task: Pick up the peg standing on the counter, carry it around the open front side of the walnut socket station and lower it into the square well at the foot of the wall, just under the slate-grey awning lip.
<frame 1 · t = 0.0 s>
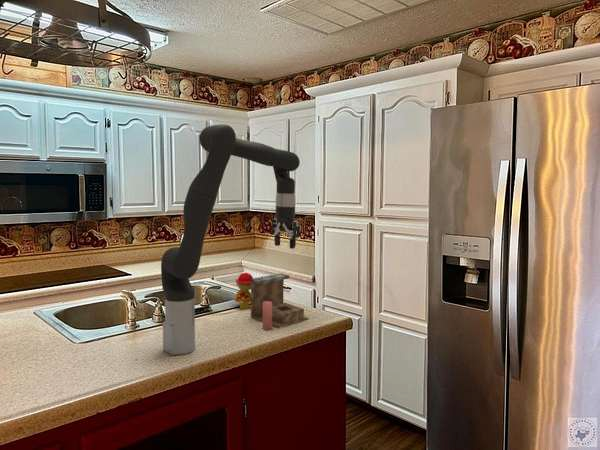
hand: (284, 246, 172), 29 cm above the worktop, fingers open, 8 cm apart
peg: (267, 328, 165), on the worktop
toy: (245, 307, 192), on the worktop
socket station: (283, 320, 175), on the worktop
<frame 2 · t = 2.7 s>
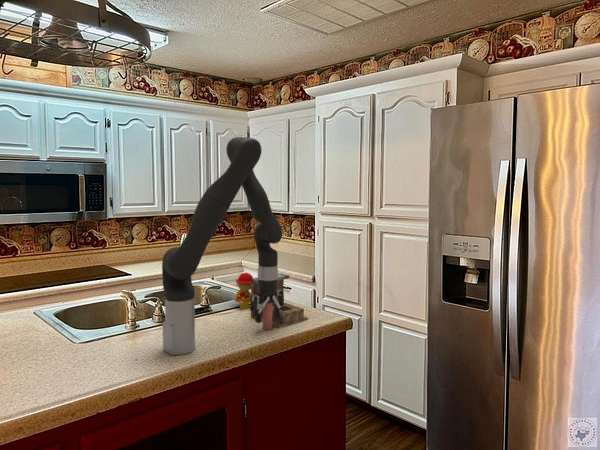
hand: (267, 320, 165), 3 cm above the worktop, fingers open, 8 cm apart
nothing on the worktop moved.
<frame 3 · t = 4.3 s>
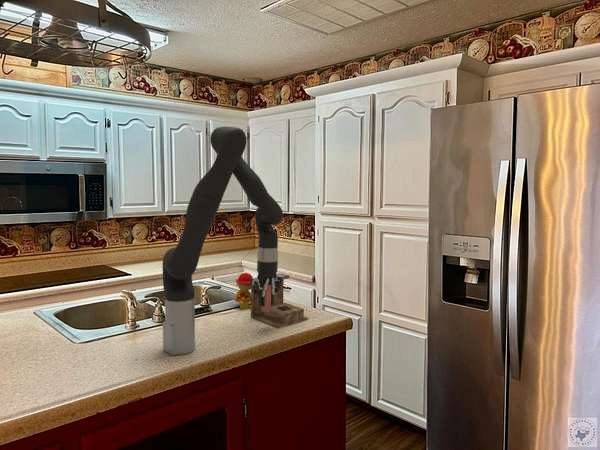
hand: (266, 304, 164), 9 cm above the worktop, fingers closed on peg, 3 cm apart
peg: (265, 310, 165), point 7 cm above the worktop, touching gripper
everything else where it was.
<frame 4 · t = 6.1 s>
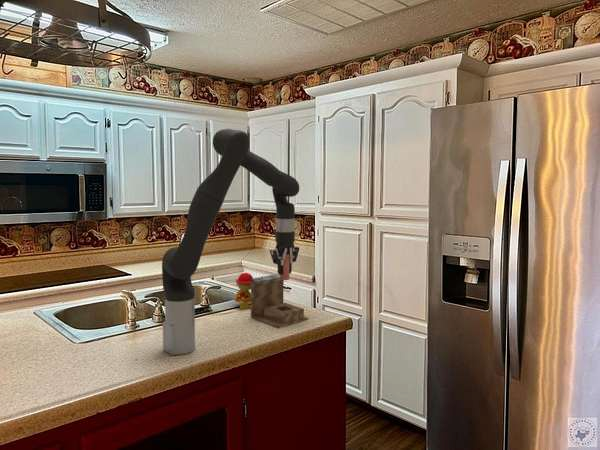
hand: (284, 273, 173), 19 cm above the worktop, fingers closed on peg, 3 cm apart
peg: (284, 279, 173), point 17 cm above the worktop, touching gripper
everything else where it was.
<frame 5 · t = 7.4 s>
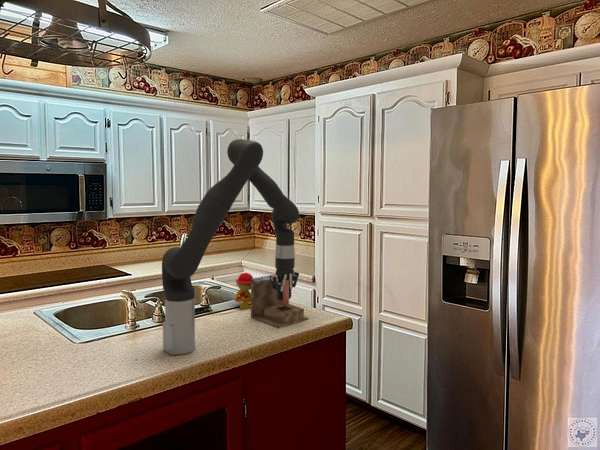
hand: (284, 299, 174), 9 cm above the worktop, fingers closed on peg, 3 cm apart
peg: (284, 304, 174), point 6 cm above the worktop, touching gripper
everything else where it was.
when the fingers open (6 cm above the worktop, at t = 8.6 s): peg drops 3 cm, resting on socket station.
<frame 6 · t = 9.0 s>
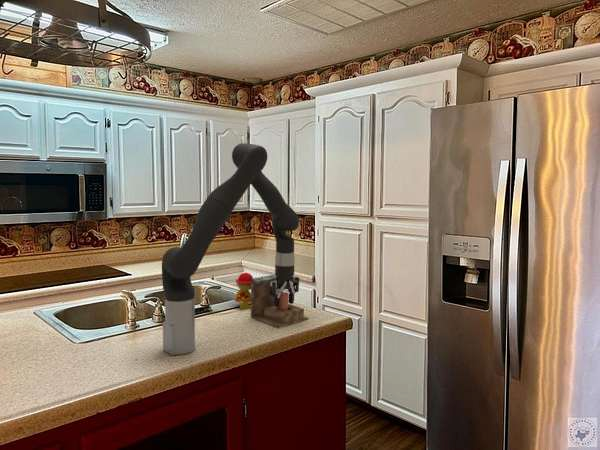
hand: (284, 304, 174), 6 cm above the worktop, fingers open, 6 cm apart
peg: (283, 318, 175), point 1 cm above the worktop, touching socket station
everything else where it was.
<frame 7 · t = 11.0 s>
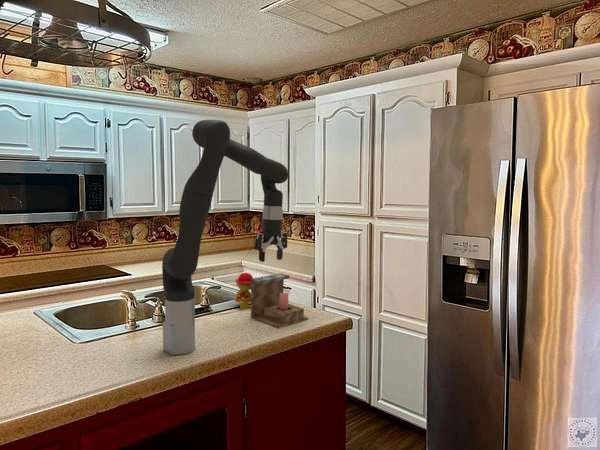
hand: (270, 260, 168), 25 cm above the worktop, fingers open, 8 cm apart
nothing on the worktop moved.
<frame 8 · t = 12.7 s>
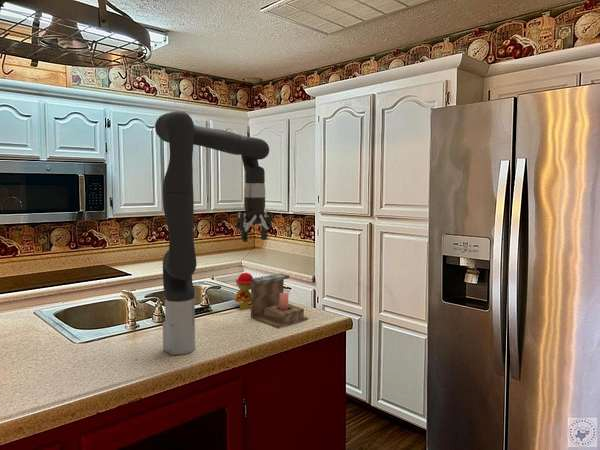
hand: (254, 240, 161), 33 cm above the worktop, fingers open, 8 cm apart
nothing on the worktop moved.
at the end: peg 0.2 cm off-centre on the socket station, point 0.8 cm above the socket station's base; peg tilted 0°; the gripper is holding nothing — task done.
